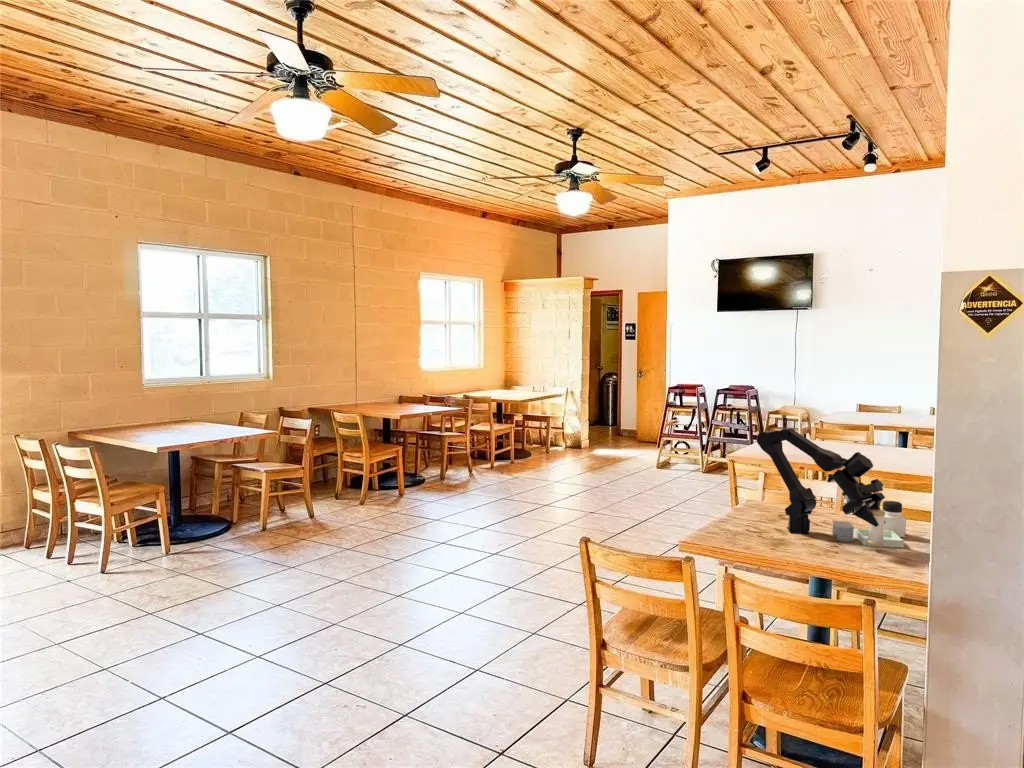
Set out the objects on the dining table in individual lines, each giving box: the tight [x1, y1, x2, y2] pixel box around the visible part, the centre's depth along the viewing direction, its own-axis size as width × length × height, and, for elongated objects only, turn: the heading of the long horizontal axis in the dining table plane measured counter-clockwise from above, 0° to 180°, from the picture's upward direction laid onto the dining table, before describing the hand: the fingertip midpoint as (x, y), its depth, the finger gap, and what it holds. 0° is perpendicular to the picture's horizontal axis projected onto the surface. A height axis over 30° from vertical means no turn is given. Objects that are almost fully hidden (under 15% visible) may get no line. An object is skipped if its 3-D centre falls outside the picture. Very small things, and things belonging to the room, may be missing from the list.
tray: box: [853, 527, 905, 549], centre depth 246 cm, size 12×12×2 cm
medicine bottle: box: [882, 500, 907, 538], centre depth 254 cm, size 7×7×12 cm
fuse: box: [868, 509, 885, 547], centre depth 235 cm, size 5×5×11 cm
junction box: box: [831, 520, 855, 544], centre depth 249 cm, size 5×9×5 cm, turn 168°
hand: (880, 524), depth 234 cm, fingers closed on fuse, 4 cm apart
